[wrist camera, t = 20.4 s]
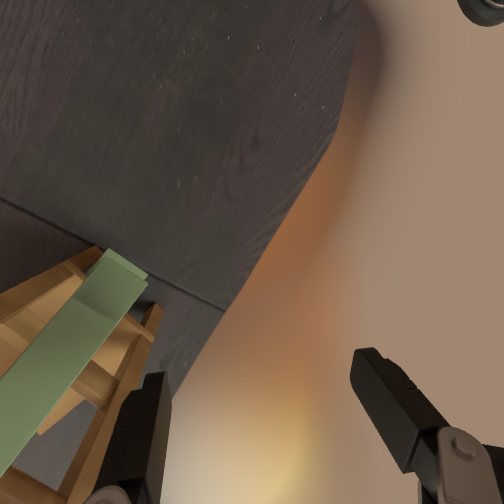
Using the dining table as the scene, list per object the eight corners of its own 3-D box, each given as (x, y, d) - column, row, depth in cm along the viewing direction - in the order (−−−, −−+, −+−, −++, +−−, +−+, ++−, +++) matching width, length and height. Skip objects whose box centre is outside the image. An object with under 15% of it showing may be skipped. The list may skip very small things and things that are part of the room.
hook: (108, 248, 29) (99, 217, 13) (147, 274, 31) (184, 277, 14) (7, 365, 25) (-213, 556, 8) (58, 388, 27) (-38, 586, 10)
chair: (167, 313, 36) (92, 548, 13) (78, 386, 37) (-157, 750, 13) (91, 241, 33) (-217, 382, 9) (-6, 323, 33) (-557, 671, 9)
